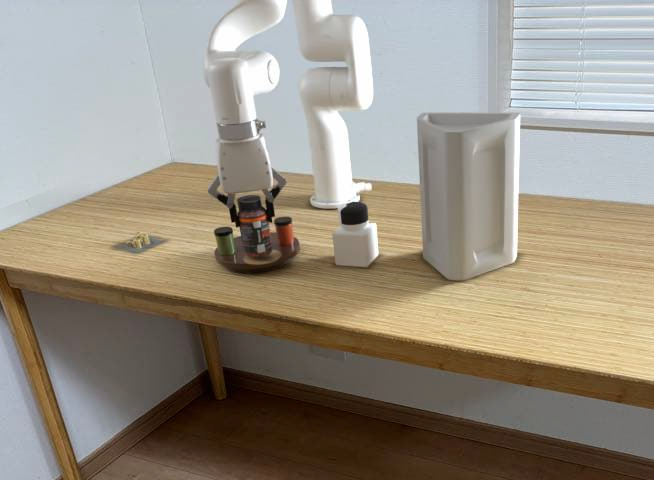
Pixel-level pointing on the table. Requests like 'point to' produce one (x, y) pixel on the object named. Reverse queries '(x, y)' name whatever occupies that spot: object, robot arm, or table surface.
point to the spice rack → (234, 257)
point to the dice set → (139, 243)
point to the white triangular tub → (469, 191)
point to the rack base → (260, 268)
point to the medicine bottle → (355, 236)
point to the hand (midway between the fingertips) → (253, 222)
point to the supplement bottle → (254, 227)
